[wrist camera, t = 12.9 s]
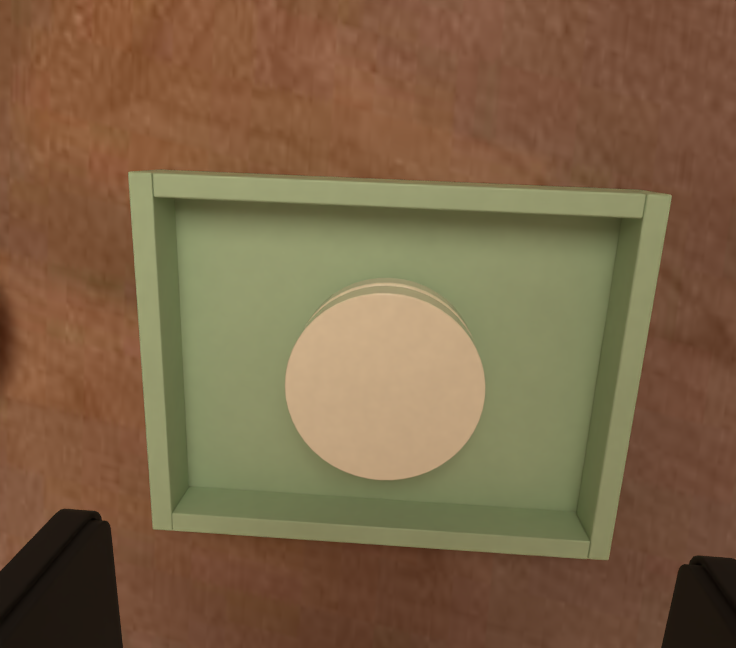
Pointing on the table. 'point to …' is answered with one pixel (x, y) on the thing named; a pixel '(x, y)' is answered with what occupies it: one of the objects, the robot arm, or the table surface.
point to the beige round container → (385, 380)
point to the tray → (426, 267)
